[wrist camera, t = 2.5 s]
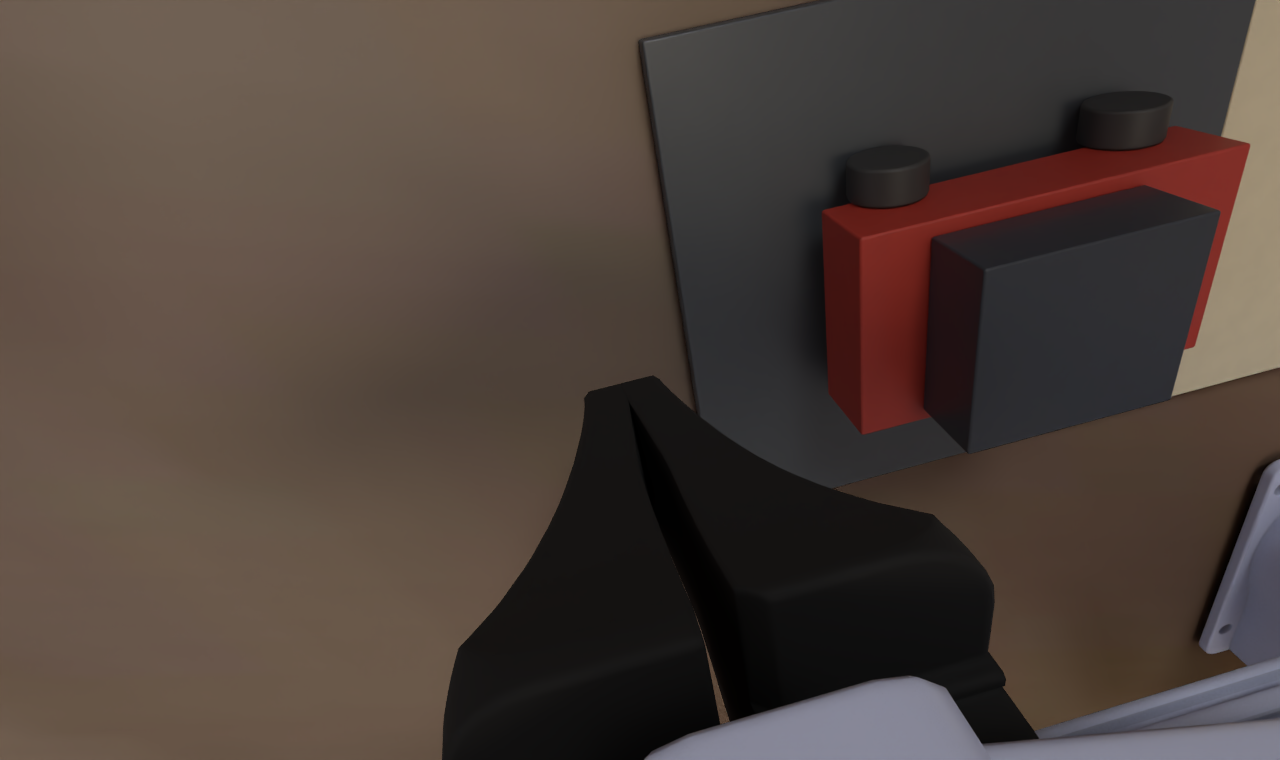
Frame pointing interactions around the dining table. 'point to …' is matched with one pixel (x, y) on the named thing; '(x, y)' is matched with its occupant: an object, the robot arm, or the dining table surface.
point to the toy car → (1026, 277)
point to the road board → (958, 146)
